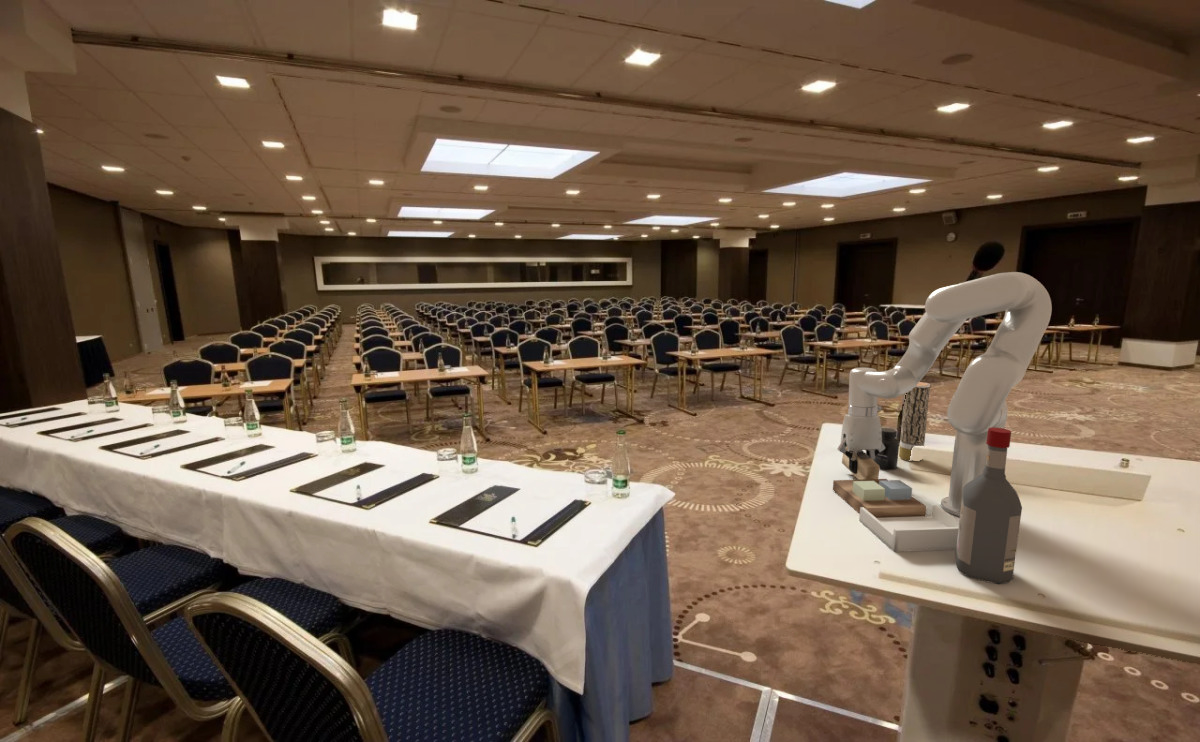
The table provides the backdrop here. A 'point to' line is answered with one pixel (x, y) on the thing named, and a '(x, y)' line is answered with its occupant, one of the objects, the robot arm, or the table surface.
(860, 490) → the tile sage
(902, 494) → the tile slate
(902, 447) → the bark textured cylinder
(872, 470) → the wooden block
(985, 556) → the liquor
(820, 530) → the table surface
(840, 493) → the wooden serving board
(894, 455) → the supplement bottle
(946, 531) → the tray
